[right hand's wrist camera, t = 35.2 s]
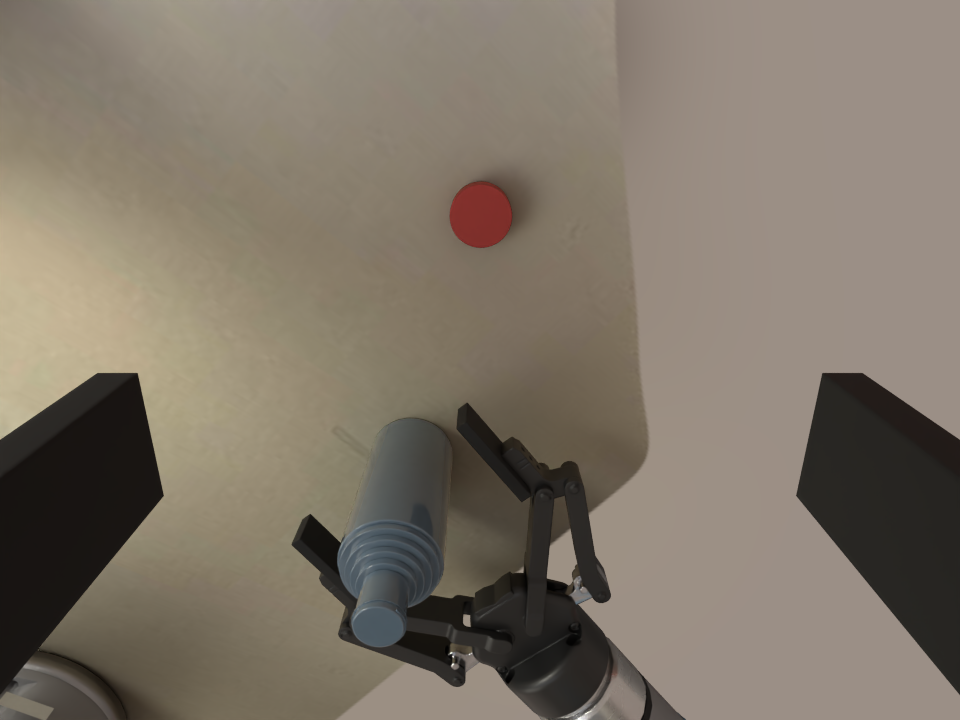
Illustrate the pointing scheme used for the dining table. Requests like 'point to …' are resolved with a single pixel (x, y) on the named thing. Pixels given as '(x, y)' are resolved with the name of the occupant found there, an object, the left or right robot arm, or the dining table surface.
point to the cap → (480, 214)
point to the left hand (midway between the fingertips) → (378, 473)
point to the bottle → (397, 528)
